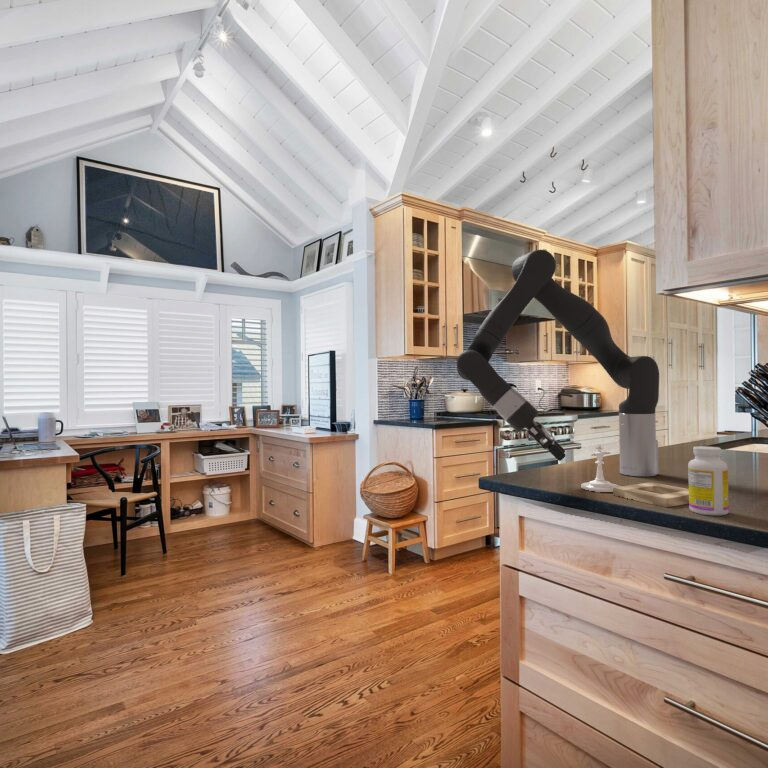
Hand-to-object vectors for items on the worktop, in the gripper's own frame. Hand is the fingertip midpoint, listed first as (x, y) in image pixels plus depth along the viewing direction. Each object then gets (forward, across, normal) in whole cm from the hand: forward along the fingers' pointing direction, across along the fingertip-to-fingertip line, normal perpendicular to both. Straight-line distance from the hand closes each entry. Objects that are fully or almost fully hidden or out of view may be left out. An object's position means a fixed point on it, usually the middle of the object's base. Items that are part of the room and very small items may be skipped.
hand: (562, 456), depth 126 cm
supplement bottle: (+25, -18, -14) cm, 33 cm away
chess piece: (+11, 0, -1) cm, 11 cm away
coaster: (+12, 0, -1) cm, 12 cm away
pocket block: (+20, -7, -9) cm, 22 cm away
